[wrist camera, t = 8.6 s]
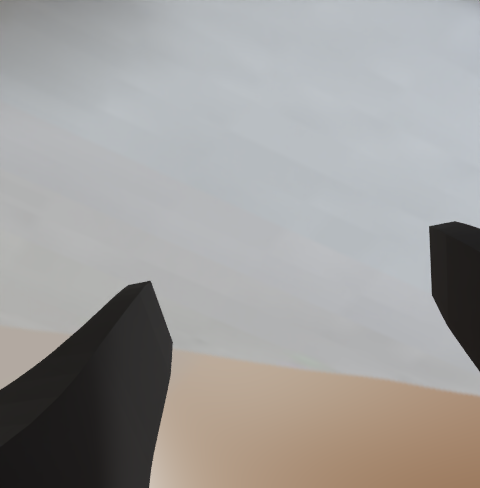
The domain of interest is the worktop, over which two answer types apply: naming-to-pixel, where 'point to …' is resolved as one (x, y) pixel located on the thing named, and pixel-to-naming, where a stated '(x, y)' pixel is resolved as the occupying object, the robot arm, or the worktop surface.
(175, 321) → the worktop surface
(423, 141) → the worktop surface
